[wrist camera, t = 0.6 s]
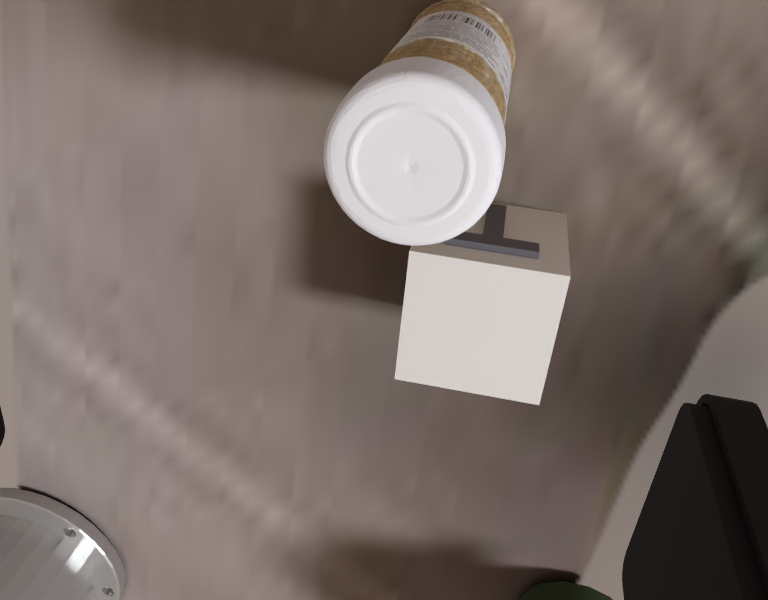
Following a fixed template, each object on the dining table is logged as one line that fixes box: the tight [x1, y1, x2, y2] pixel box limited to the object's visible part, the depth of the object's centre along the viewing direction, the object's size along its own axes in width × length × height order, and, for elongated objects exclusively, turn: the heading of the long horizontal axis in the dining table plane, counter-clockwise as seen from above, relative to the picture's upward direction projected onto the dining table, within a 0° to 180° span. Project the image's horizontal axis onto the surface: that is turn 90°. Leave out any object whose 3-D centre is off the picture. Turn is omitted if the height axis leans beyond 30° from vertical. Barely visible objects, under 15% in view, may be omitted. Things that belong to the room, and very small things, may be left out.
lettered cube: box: [395, 203, 571, 405], centre depth 31 cm, size 6×6×6 cm
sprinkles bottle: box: [323, 0, 516, 246], centre depth 24 cm, size 5×5×13 cm
